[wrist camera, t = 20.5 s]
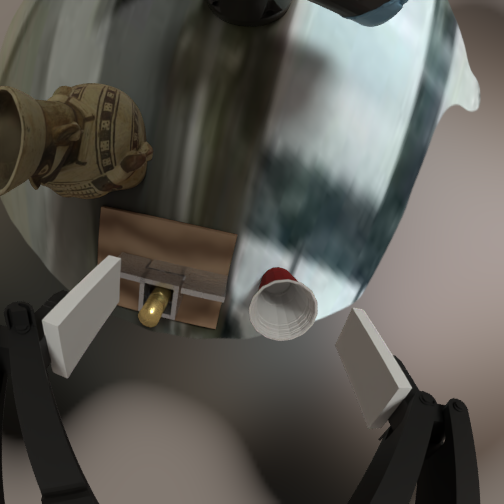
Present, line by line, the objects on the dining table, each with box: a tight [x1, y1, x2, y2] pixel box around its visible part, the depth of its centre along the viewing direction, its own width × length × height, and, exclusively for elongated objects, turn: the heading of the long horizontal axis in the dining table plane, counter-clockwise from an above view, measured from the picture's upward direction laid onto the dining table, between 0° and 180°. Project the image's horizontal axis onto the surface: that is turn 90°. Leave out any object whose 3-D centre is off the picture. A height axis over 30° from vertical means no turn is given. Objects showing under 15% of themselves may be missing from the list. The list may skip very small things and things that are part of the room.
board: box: [98, 206, 237, 329], centre depth 54 cm, size 20×26×1 cm
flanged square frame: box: [118, 252, 184, 320], centre depth 49 cm, size 7×13×8 cm, turn 76°
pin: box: [138, 286, 174, 327], centre depth 47 cm, size 3×3×14 cm
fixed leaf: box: [148, 259, 228, 307], centre depth 50 cm, size 7×14×8 cm, turn 76°
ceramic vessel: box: [0, 83, 153, 199], centre depth 32 cm, size 19×21×30 cm
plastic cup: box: [249, 267, 317, 341], centre depth 50 cm, size 11×11×12 cm
